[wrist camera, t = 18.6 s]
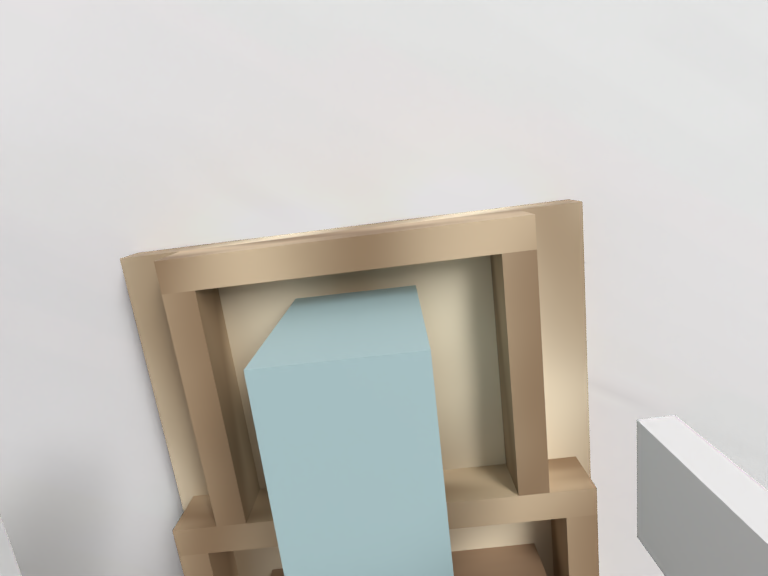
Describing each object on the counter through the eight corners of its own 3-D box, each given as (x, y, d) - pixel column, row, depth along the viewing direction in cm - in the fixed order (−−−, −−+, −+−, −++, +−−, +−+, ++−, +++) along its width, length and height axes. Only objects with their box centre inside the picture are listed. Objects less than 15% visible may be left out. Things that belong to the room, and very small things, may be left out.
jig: (245, 694, 22) (223, 775, 19) (138, 252, 17) (86, 269, 14) (585, 664, 21) (617, 743, 18) (568, 199, 17) (606, 205, 14)
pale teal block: (322, 458, 18) (289, 600, 12) (295, 298, 16) (243, 370, 10) (432, 447, 18) (454, 586, 12) (415, 285, 16) (430, 349, 10)
